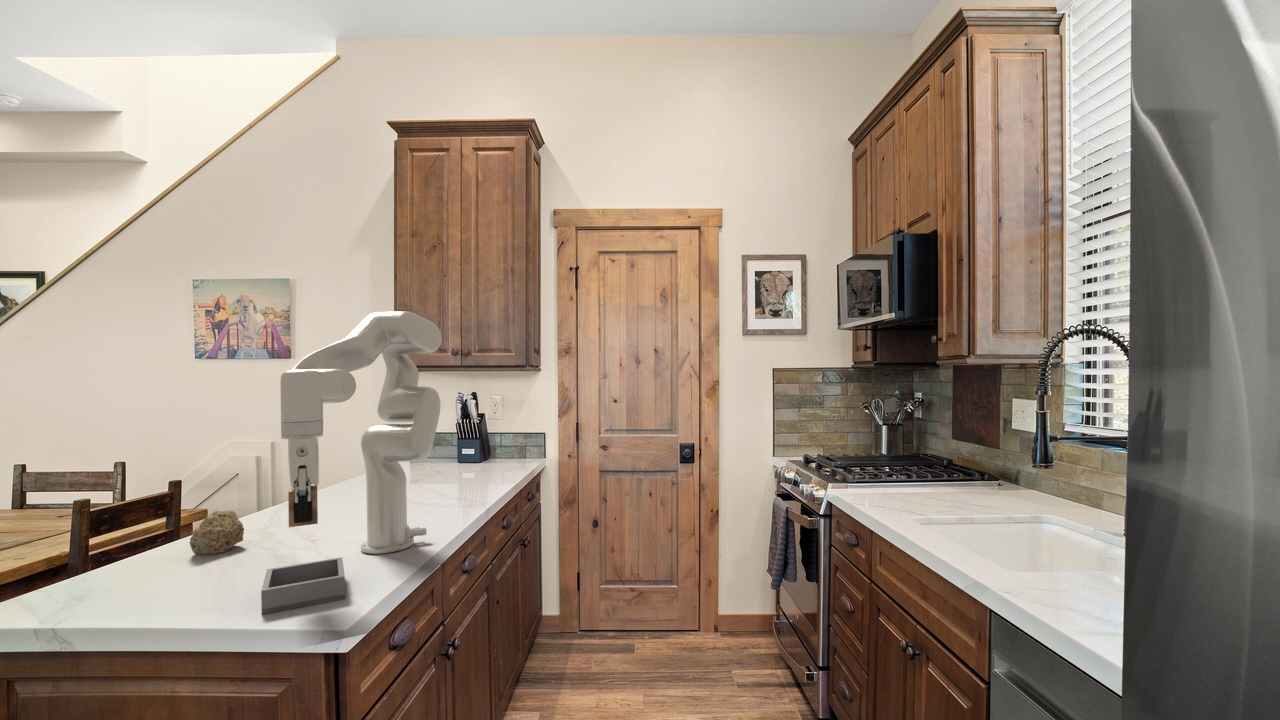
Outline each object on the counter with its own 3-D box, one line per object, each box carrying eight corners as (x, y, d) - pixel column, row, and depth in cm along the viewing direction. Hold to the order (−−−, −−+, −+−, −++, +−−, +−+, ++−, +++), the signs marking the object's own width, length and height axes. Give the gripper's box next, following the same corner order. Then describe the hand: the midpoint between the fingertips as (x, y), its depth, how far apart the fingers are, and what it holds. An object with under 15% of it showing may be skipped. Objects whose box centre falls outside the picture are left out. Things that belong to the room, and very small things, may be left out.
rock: (256, 523, 154) (228, 502, 156) (211, 540, 142) (182, 518, 144) (241, 555, 156) (214, 535, 158) (196, 576, 144) (167, 553, 146)
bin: (342, 577, 128) (342, 557, 128) (345, 598, 116) (344, 576, 116) (267, 590, 121) (267, 569, 121) (261, 614, 109) (261, 590, 109)
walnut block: (317, 518, 122) (317, 485, 122) (317, 523, 118) (317, 489, 118) (289, 521, 120) (289, 487, 120) (288, 527, 115) (288, 492, 115)
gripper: (323, 432, 113) (324, 525, 113) (323, 425, 128) (324, 508, 128) (278, 434, 110) (279, 531, 109) (283, 428, 125) (284, 513, 124)
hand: (303, 518), depth 119 cm, fingers closed on walnut block, 5 cm apart
